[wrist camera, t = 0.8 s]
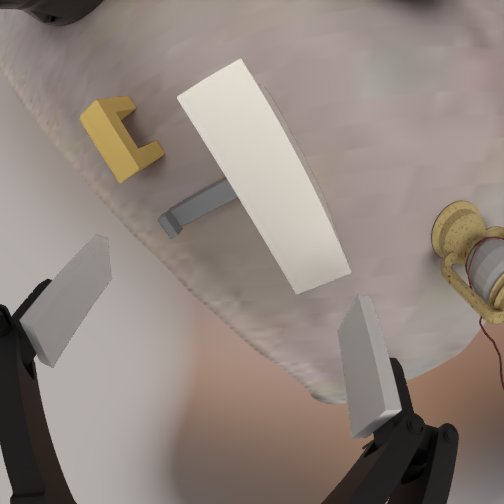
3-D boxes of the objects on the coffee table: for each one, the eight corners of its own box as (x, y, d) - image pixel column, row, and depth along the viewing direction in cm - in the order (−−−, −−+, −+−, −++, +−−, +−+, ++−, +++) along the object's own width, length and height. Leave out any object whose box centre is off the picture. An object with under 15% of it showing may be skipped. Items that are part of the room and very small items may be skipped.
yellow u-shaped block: (112, 110, 29) (78, 117, 23) (128, 95, 28) (96, 99, 22) (147, 166, 33) (120, 183, 27) (165, 153, 32) (139, 168, 26)
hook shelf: (148, 141, 31) (84, 172, 20) (257, 74, 26) (240, 58, 15) (224, 256, 39) (201, 327, 27) (329, 210, 34) (351, 273, 22)
